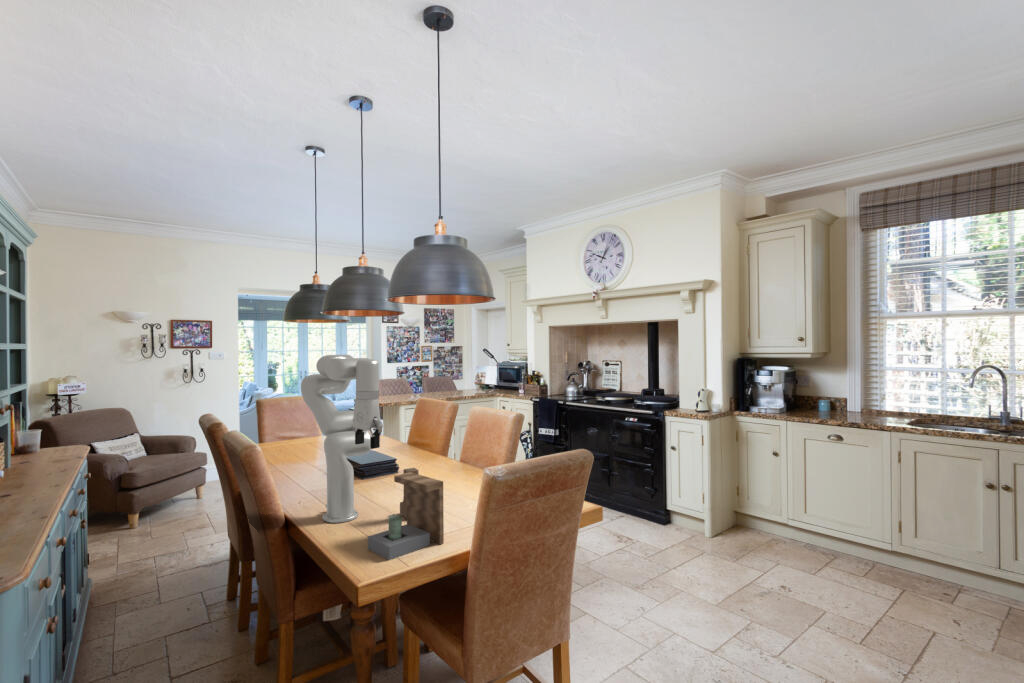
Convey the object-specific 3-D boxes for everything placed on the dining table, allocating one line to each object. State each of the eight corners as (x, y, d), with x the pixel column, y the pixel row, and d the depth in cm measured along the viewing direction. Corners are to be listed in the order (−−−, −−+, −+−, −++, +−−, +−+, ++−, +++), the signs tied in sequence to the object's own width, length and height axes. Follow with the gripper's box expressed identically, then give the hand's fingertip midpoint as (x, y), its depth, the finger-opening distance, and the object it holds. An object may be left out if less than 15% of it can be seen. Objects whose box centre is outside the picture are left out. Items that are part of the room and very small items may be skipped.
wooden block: (399, 513, 193) (399, 466, 193) (411, 511, 195) (410, 465, 195) (407, 520, 185) (407, 471, 185) (419, 518, 187) (418, 469, 188)
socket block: (367, 549, 160) (367, 536, 160) (407, 535, 170) (407, 524, 170) (389, 560, 151) (389, 546, 151) (429, 545, 162) (429, 532, 162)
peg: (386, 549, 160) (385, 517, 160) (396, 545, 163) (396, 514, 163) (393, 552, 157) (393, 520, 157) (404, 548, 160) (404, 516, 160)
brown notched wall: (394, 535, 171) (394, 475, 172) (410, 529, 176) (410, 472, 176) (427, 549, 159) (427, 485, 159) (443, 543, 164) (443, 481, 164)
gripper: (344, 394, 176) (344, 443, 176) (371, 398, 164) (371, 451, 164) (363, 392, 181) (363, 440, 182) (391, 397, 170) (391, 448, 170)
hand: (367, 445), depth 173 cm, fingers open, 9 cm apart
